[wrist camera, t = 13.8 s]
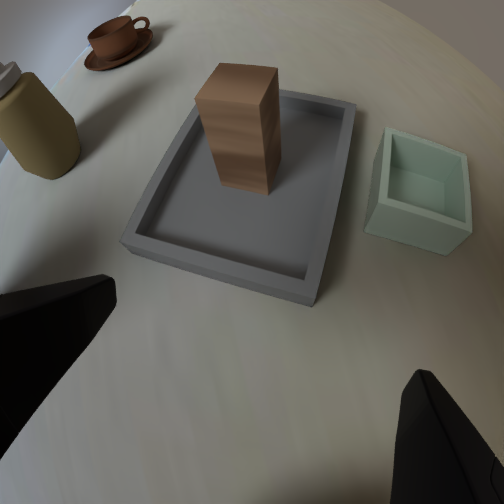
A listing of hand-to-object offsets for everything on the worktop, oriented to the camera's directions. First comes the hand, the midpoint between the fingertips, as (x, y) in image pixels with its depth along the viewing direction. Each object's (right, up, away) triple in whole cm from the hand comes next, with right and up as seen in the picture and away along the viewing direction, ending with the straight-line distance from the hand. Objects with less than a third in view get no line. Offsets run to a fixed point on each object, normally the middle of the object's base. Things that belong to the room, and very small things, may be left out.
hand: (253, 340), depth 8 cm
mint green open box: (+13, +6, +16) cm, 22 cm away
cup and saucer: (-21, +34, +31) cm, 51 cm away
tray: (0, +9, +18) cm, 20 cm away
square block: (0, +9, +18) cm, 20 cm away
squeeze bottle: (-22, +13, +23) cm, 35 cm away
